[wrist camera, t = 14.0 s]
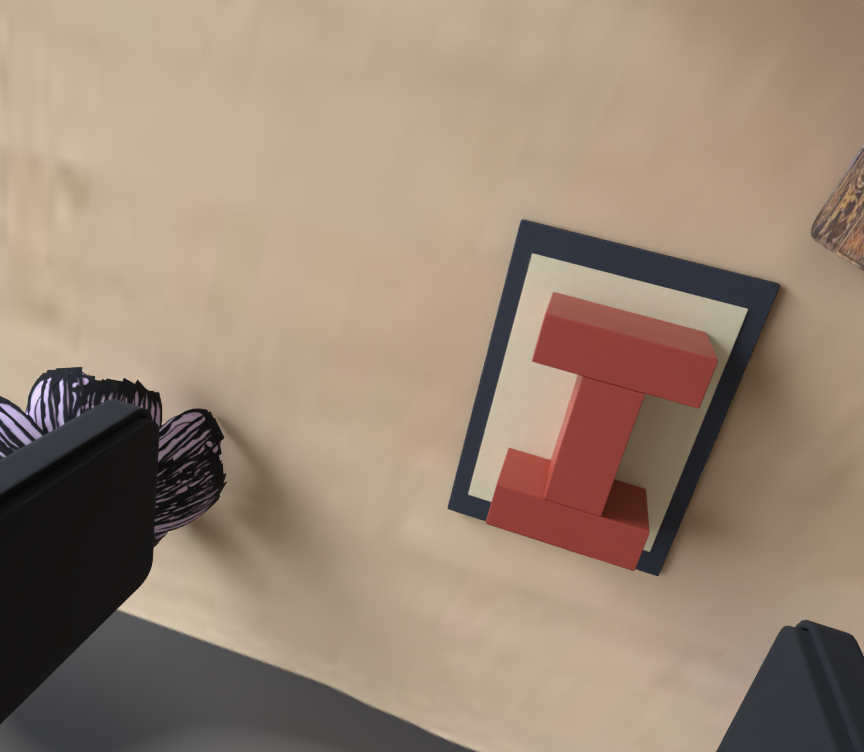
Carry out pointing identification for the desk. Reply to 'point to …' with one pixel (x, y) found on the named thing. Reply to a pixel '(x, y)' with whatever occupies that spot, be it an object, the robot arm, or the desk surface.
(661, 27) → the desk surface
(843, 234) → the book
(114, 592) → the robot arm
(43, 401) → the decorative flower
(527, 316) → the desk mat
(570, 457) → the letter I
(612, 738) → the desk surface
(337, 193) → the desk surface
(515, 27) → the desk surface
